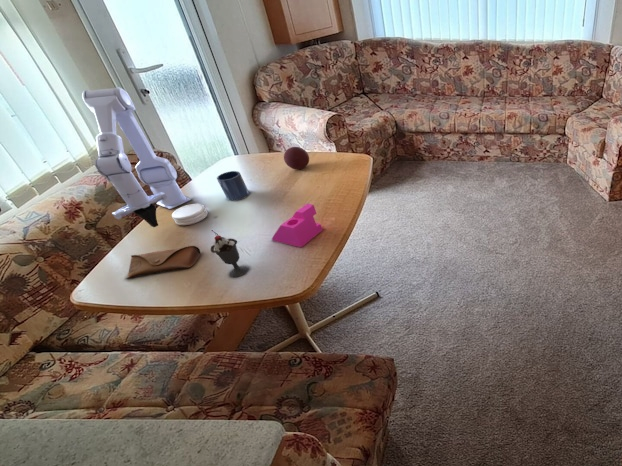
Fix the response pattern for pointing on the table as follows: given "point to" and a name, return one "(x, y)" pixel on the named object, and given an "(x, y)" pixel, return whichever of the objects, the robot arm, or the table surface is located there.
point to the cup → (233, 185)
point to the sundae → (228, 254)
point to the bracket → (299, 227)
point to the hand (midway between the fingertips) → (154, 225)
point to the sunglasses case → (163, 261)
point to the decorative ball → (296, 158)
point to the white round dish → (189, 214)
